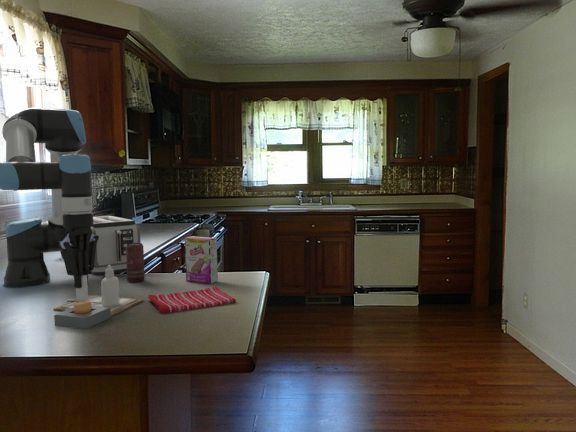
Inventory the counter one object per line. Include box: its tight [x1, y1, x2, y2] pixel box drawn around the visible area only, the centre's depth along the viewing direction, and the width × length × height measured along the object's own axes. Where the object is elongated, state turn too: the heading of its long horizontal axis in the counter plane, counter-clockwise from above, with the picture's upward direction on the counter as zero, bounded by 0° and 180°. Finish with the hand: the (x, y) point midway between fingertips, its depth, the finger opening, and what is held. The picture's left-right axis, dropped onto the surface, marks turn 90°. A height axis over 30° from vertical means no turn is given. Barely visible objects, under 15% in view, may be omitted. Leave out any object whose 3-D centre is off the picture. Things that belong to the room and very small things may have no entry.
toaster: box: [89, 215, 141, 276], centre depth 204 cm, size 19×35×20 cm, turn 40°
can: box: [126, 243, 146, 284], centre depth 178 cm, size 6×6×14 cm
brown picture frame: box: [53, 294, 145, 317], centre depth 147 cm, size 22×16×1 cm
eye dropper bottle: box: [100, 265, 120, 306], centre depth 145 cm, size 4×6×12 cm
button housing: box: [53, 305, 112, 330], centre depth 131 cm, size 10×10×3 cm
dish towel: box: [147, 286, 237, 314], centre depth 150 cm, size 17×24×3 cm
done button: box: [74, 301, 92, 314], centre depth 131 cm, size 4×4×3 cm
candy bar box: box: [184, 235, 219, 285], centre depth 176 cm, size 11×5×16 cm, turn 65°
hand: (82, 298), depth 131 cm, fingers closed
